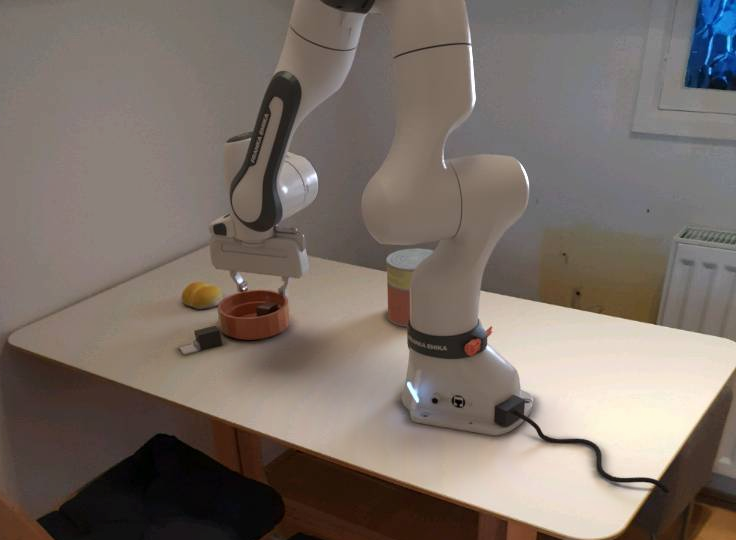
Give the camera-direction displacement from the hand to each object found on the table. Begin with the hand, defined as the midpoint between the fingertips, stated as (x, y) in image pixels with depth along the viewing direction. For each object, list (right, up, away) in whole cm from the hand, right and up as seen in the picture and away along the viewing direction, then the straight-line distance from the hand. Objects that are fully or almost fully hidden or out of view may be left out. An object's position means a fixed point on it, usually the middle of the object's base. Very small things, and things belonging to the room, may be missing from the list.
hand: (263, 293), depth 164 cm
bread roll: (-15, +2, +16) cm, 22 cm away
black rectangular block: (-12, -11, -2) cm, 17 cm away
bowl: (-2, -6, +4) cm, 7 cm away
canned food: (+31, -3, +5) cm, 31 cm away
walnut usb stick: (0, -5, +2) cm, 6 cm away
